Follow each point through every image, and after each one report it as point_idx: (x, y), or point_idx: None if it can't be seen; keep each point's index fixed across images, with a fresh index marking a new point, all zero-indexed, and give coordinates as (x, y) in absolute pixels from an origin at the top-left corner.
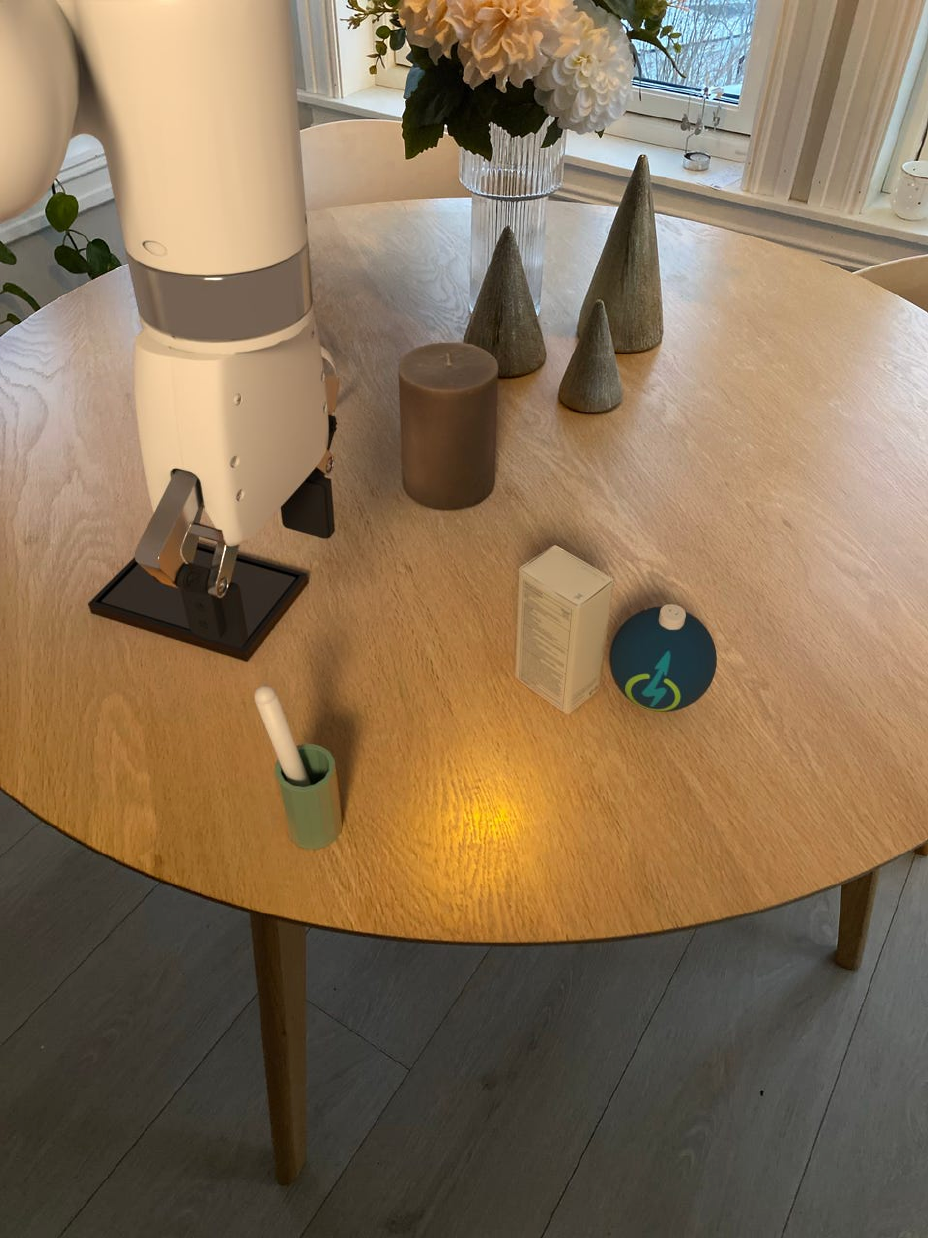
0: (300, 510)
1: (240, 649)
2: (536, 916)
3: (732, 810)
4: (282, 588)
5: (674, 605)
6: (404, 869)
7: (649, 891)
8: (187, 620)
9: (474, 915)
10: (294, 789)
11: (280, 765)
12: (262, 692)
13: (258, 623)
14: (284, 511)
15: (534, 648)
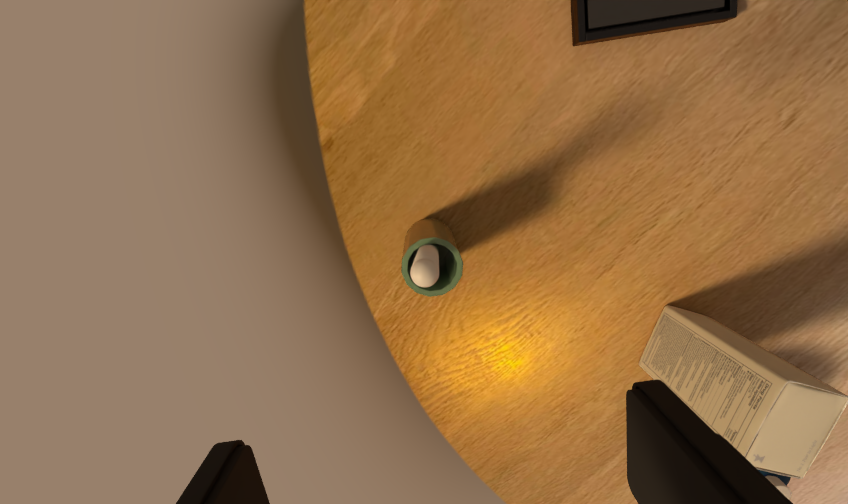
0: (667, 489)
1: (580, 33)
2: (448, 419)
3: (597, 493)
4: (698, 4)
5: (789, 494)
6: (432, 325)
7: (504, 470)
8: (201, 464)
9: (426, 385)
10: (404, 274)
11: (421, 245)
12: (420, 277)
13: (628, 21)
14: (657, 428)
15: (691, 353)
